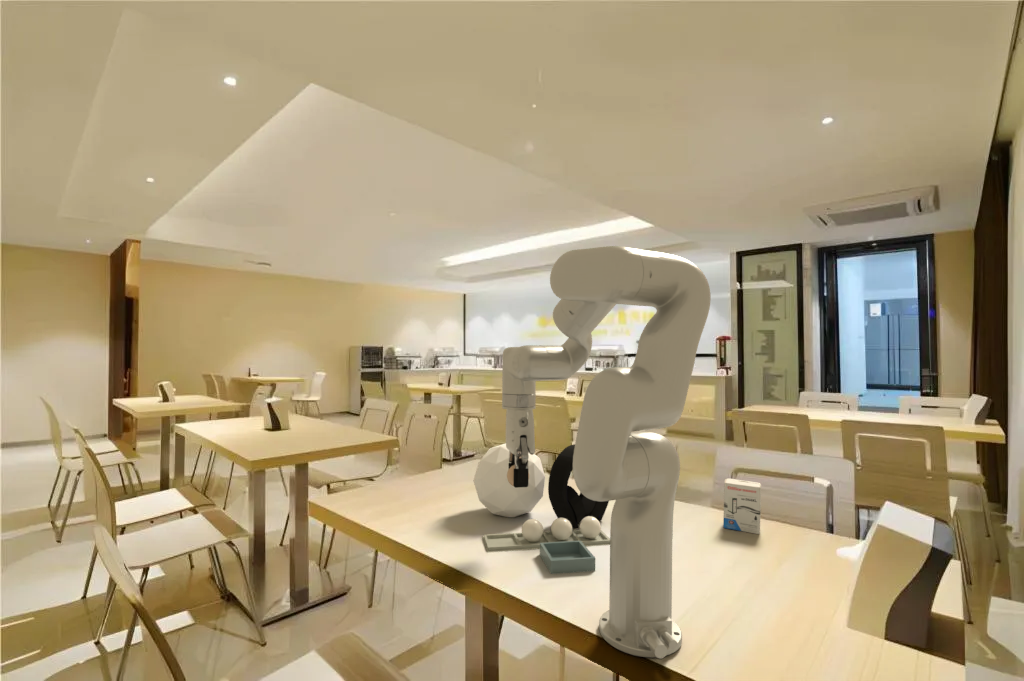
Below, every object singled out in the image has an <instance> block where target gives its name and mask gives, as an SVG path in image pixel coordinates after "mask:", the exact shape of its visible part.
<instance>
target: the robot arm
mask: <svg viewBox="0 0 1024 681" xmlns="http://www.w3.org/2000/svg"><path fill="white" fill-rule="evenodd" d="M549 284H550V288H551V291H552V293H553V294H554V295H555V296H556V297H557V298H559V299H560V300H559V301H558V302H557V304H556V305H555V306H554V307H553V311H552V320H553V322H554V325H555V326H556V328H557V329H558V330H559V331H560V332H561V333H562V334H563V335H565V336H566V337H567V339H566V340H565V342H564V343H563V344H561V345H537V344H536V345H533V344H531V345H530V344H529V345H521V346H510V347H506V348H505V349H504V350H503V351H502V367H501V368H502V370H501V371H502V374H501V375H502V380H501V381H502V383H501V385H502V386H501V387H502V388H501V390H502V391H501V393H502V394H501V396H502V397H501V409H503V410H505V411H506V413H505V443H506V447H507V449H508V450H509V468H510V467H511V466H513V465H515V469H514V483H513V485H514V487H515V488H518V487H528V458H529V456H528V453H530V454H531V455H533V454H535V452H536V443H535V442H536V441H535V438H536V437H535V419H534V410H536V396H537V395H536V393H537V392H536V390H537V389H536V388H537V385H536V384H537V382H542V381H565V380H567V379H570V378H571V377H573V376H574V375H575V374H576V373H578V371H580V369H581V368H582V367H583V366H584V365H585V364H586V362H587V361H588V360H589V358H590V355H591V351H592V347H593V335H592V332H593V331H594V330H595V329H596V328H597V326H599V324H600V323H601V322H602V321H603V320H604V319H605V317H606V316H607V315H608V314H609V313H610V312H611V311H612V310H613V309H614V308H615V306H616V305H628V306H637V307H638V306H639V307H651V308H652V307H653V308H655V309H656V312H655V314H653V316H652V317H651V318H650V319H649V320H648V322H647V323H646V325H645V326H644V328H643V330H642V332H641V334H640V336H639V338H638V344H637V350H636V354H635V358H634V361H633V364H631V366H623V367H617V366H616V367H609V368H606V369H604V370H602V371H600V372H598V373H597V374H596V375H594V377H593V378H592V379H591V381H590V382H589V384H588V386H587V388H586V389H585V392H584V397H583V402H582V407H581V411H580V416H579V420H578V428H577V432H576V437H575V442H574V444H575V448H574V454H573V470H572V474H573V475H572V476H573V480H574V483H575V485H576V487H577V489H578V490H579V493H580V492H581V493H582V494H583V495H584V496H585V497H587V498H588V499H590V500H593V501H609V502H611V501H614V504H613V507H612V512H611V515H610V531H609V532H610V534H609V538H610V545H609V597H608V598H609V606H608V610H607V611H605V612H603V613H602V615H601V616H600V618H599V622H598V624H599V626H598V628H599V633H600V635H601V637H602V638H603V639H604V640H605V641H606V642H607V644H609V645H610V646H612V647H614V648H615V649H617V650H618V651H621V652H623V653H625V654H629V655H631V656H635V657H641V658H642V657H643V658H657V659H664V658H665V657H666V656H670V655H672V654H673V653H675V652H677V651H678V650H679V649H680V648H681V646H682V644H683V632H682V630H681V627H680V626H679V625H678V624H677V623H676V621H674V620H673V619H672V608H673V607H672V606H673V605H672V603H673V537H674V536H673V535H674V534H673V532H674V531H673V528H674V509H675V500H676V499H675V498H676V495H677V490H678V485H679V481H680V473H681V472H680V471H681V462H680V461H681V460H680V457H679V453H678V450H677V449H676V447H675V445H674V444H673V443H672V441H670V440H669V439H668V438H667V437H665V436H664V435H663V434H660V433H656V432H653V430H659V429H665V428H670V427H672V426H674V425H675V424H677V423H678V421H679V420H680V419H681V417H682V414H683V412H684V408H685V404H686V400H687V396H688V392H689V387H690V383H691V380H692V379H691V378H692V374H693V371H694V366H695V362H696V361H695V360H696V357H697V351H698V349H699V348H698V347H699V343H700V340H701V337H702V334H703V332H704V328H705V326H706V323H707V319H708V316H709V312H710V308H711V288H710V285H709V282H708V279H707V277H706V276H705V274H704V272H703V271H702V270H701V269H700V268H699V267H698V266H697V265H696V264H695V263H694V262H692V261H690V260H688V259H686V258H684V257H681V256H678V255H675V254H670V253H666V252H660V251H654V250H647V249H641V248H635V247H634V248H633V247H629V246H620V245H619V246H618V245H611V246H610V245H608V246H597V247H589V248H581V249H579V248H577V249H571V250H568V251H566V252H564V253H562V254H561V255H560V256H559V258H558V259H556V261H555V262H554V264H553V266H552V268H551V270H550V275H549ZM651 430H652V431H651Z"/></svg>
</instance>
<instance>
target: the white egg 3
mask: <svg viewBox="0 0 1024 681" xmlns="http://www.w3.org/2000/svg"><path fill="white" fill-rule="evenodd" d="M600 522H601V521H598V520H597V519H596V518H595V517H592V516H587V517H585V518H583V519H582V520H581V522H580V523H579V530H580V532H581V533H582V535H583V536H584V537H586V538H588V539H593V538H596V537H597V536H598V535H599V534H600V531H601V530H602V526H601V523H600Z"/></svg>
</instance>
